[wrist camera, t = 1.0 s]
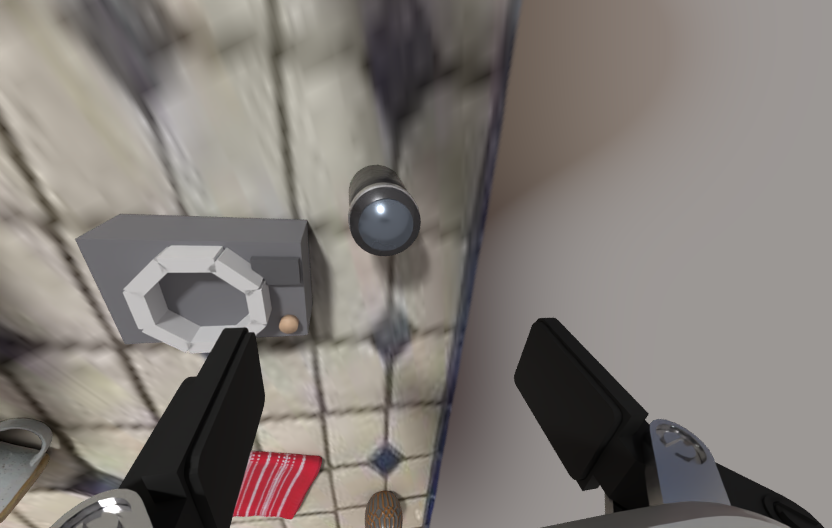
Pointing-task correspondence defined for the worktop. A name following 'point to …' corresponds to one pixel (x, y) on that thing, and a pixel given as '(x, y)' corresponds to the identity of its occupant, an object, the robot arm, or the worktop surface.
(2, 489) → the ceramic mug
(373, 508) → the vase
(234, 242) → the camera body
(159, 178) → the worktop surface
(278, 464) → the dish towel
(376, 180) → the lens
